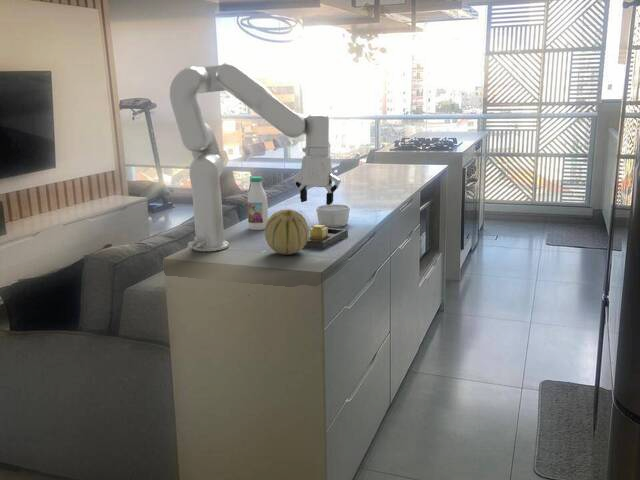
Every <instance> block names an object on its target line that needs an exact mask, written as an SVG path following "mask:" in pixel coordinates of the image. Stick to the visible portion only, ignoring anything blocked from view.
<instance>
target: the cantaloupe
mask: <svg viewBox="0 0 640 480" xmlns="http://www.w3.org/2000/svg"><path fill="white" fill-rule="evenodd" d="M308 237H310V229H309V225H308V222H307V220H306V218H305V217H304V215H303V214H301V213H300V212H298V211H296V210H294V209H288V208H287V209H281V210H278V211H276V212H274V213H272V214H271V215H270V217H268V221H267V223H266V225H265V229H264V238H265V241H266V243H267V245H268V247H270V249H271V250H273V251H274V252H275V253H277V254H280V255H294V254H296V253H299V252H300V251H302V249H303V248H305V247H304V246H305V245H306V243H307V241H308Z"/></svg>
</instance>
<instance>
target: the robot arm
mask: <svg viewBox="0 0 640 480" xmlns="http://www.w3.org/2000/svg"><path fill="white" fill-rule="evenodd" d="M223 91H226V92H227V93H229V94H230V95H232V96H233V97H235V98H236V99H237V100H239V101H240V102H241V103H242V104H244V105H245V106H246V107H248V108H249V109H250V110H251V111H253V113H255V114H257V115H258V116H260V117H261V118H262V119H263V120H265V121H266V122H267V123H269V125H271V126H273V127H274V128H275V129H277V130H278V131H279V132H281V133H282V134H284V135H285V136H286V137H288V138H291V139H294V138H295V139H296V138H299V137H300V136H305V146H304V147H303V148H302V152H303V153H304V154H305V155H303V156H302V161H301V167H300V173H298V174H296V175H294V176H293V180H294V183H295V185H296V187H297V188H298V190H299V193H300V194H299V195H300V196H299V198H300V202H301V203H305V202H307V201H308V189H306V188H307V187H311V188H313V187H315V188H325V190H326V191H327V192H326V195H325V196H326V197H325V198H326V200H325V201H326V204H325V205H330V204H333V202H334V192H335V191H336V190H337V189H338V188H339V187H340V184H341V182H342V180H341V179H340V178H338V177H337V176H335V175H334V174H333V168H332V161H331V157H330V156H329V130H330V129H329V127H330V125H329V124H330V121H329V120H330V118H329V116H328V115H327V114H324V113H311V114H305V113H304V114H303V113H298V112H295V111H293V110H292V109H290V108H289V107H288V106H286V105H285V104H284V103H282V102H281V101H280V100H279V99H278V98H277V97H276V96H275V95H274V94H273V93H272V91H271V90H270V89H268V88H267V87H266V86H265V85H264V84H263V83H261V82H260V81H258V80H257V79H256V78H254V77H253V76H251V75H250V74H249V73H248V72H246V71H245V70H244V69H243V68H242V67H241V66H240V65H239V64H237V63H234V62H230V61H229V62H224V63H223V64H219V65H218V64H217V65H210V66H209V65H208V66H187V67H185V68H183V69H181V70H180V71H179V72H177V73H176V75H175V76H174V78H173V79H172V81H171V83H170V86H169V100H170V104H171V108H172V111H173V115H174V118H175V122H176V125H177V128H178V131H179V134H180V138H181V139H180V140H181V142H182V145H183V146H184V148H185V149H186V150H187V151H190V152H191V155H192V158H193V160H192V162H191V164H190V166H189V180H190V185H191V192H192V193H191V195H192V204H193V206H192V207H193V217H194V218H193V219H194V231H195V236H194V239H193V240H192V241H189V242H188V243H187V247H188V248H189V249H192V250H193V251H196V252H204V253H205V252H206V251H207V252H217V250H218V251H221V250H225V249H227V248H229V246H230V243H229V242H228V241H227V240H225V235H224V218H223V203H222V202H223V201H222V190H221V183H220V182H221V181H220V176H221V175H222V172H223V170H224V161H223V158H222V155H221V151H220V148H219V144H218V141H217V139H216V138H217V137H216V136H215V132H214V130H213V129H212V127H211V126H210V125H209V124H208V123H206V122H205V121H204V118H203V116H202V111H201V108H200V106H199V103H198V100H197V95H198V94H204V93H205V94H206V93H213V92H215V93H216V92H223ZM333 182H334V184H333Z"/></svg>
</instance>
